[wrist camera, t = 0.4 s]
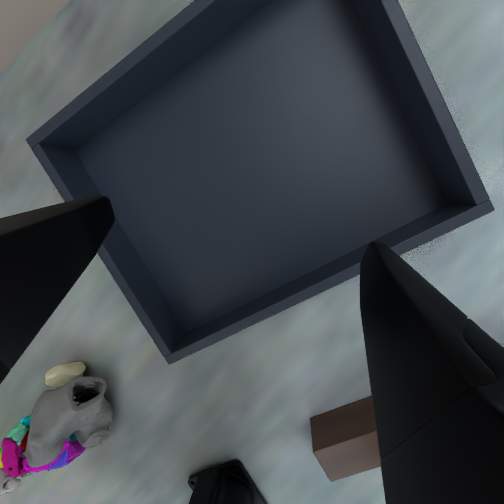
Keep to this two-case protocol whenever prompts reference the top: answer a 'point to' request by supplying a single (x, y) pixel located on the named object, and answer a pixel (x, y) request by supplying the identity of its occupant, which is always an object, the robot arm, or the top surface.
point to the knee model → (57, 425)
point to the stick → (346, 439)
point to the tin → (260, 159)
